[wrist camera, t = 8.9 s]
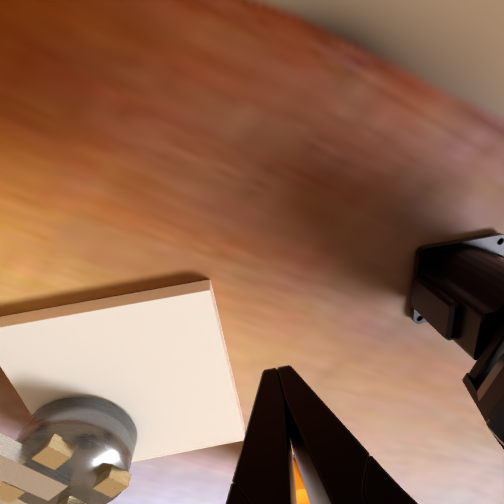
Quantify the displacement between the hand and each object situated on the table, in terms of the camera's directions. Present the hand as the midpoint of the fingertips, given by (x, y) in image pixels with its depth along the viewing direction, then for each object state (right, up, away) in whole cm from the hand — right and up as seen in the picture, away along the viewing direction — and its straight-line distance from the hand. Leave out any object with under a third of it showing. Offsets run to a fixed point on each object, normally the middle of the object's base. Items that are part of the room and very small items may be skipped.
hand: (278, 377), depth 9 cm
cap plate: (-10, -6, +15) cm, 19 cm away
